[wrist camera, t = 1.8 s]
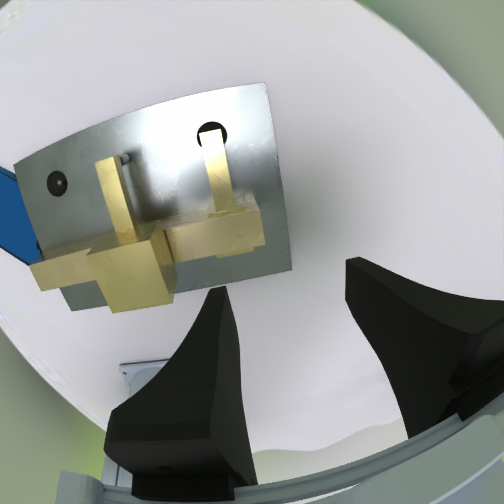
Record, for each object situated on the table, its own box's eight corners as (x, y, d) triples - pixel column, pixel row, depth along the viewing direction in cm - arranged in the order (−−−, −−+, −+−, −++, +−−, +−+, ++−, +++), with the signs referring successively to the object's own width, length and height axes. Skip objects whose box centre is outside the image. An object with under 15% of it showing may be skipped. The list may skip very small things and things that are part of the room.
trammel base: (289, 264, 23) (300, 286, 20) (74, 306, 22) (62, 328, 19) (263, 84, 16) (272, 77, 14) (18, 162, 16) (-5, 171, 13)
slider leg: (181, 259, 20) (172, 303, 15) (132, 269, 20) (112, 313, 15) (150, 143, 16) (124, 153, 12) (96, 161, 16) (58, 178, 11)
